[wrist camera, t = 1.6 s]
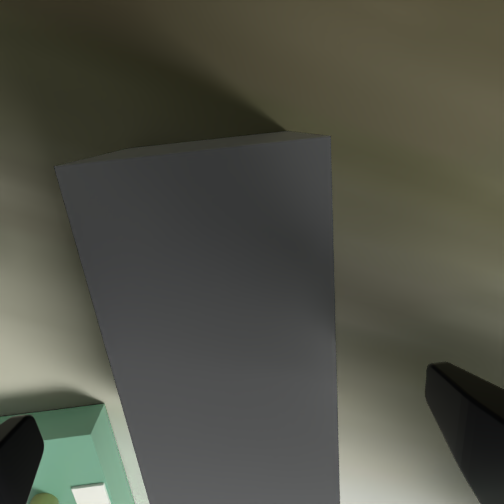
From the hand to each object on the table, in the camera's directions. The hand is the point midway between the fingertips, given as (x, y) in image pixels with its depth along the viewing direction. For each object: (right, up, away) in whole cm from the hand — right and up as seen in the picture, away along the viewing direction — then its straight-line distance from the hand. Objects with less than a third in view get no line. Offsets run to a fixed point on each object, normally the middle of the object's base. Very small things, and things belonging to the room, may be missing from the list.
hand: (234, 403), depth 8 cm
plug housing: (0, +2, +5) cm, 5 cm away
